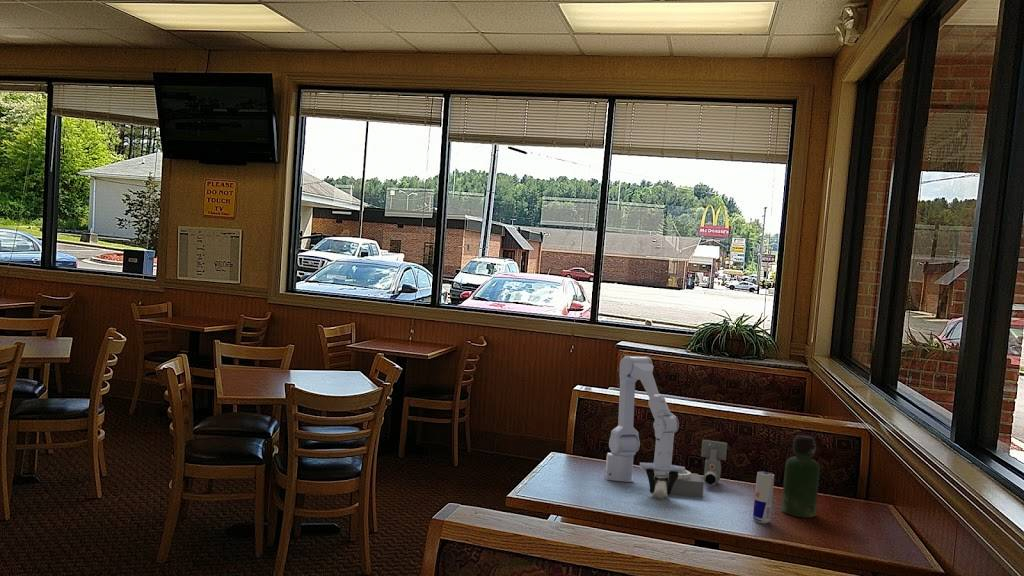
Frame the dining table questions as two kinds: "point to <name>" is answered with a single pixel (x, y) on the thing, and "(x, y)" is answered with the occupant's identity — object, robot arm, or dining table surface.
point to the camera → (713, 460)
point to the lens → (660, 487)
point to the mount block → (685, 483)
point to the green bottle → (801, 479)
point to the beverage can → (763, 497)
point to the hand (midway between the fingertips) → (659, 493)
